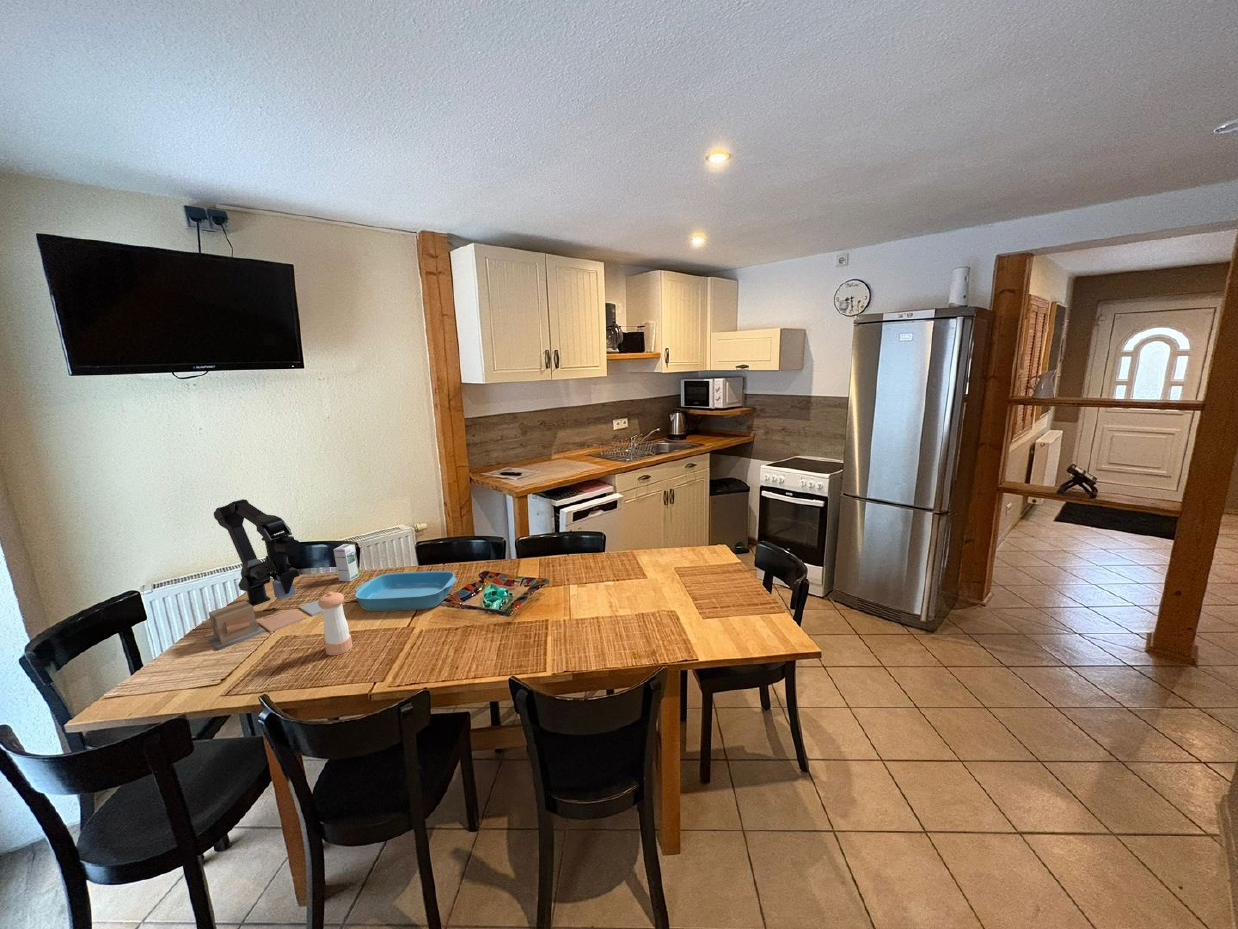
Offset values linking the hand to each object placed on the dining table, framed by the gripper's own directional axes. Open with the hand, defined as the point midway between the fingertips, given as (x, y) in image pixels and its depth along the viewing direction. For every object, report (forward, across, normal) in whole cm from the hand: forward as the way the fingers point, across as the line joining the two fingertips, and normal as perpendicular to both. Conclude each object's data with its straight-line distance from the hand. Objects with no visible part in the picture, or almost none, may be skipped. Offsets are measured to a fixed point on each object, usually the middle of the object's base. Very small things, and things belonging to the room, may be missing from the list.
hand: (284, 591), depth 184 cm
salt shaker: (+7, +47, -2) cm, 47 cm away
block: (+2, 0, 0) cm, 2 cm away
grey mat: (+7, +10, +8) cm, 14 cm away
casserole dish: (+7, +34, +29) cm, 45 cm away
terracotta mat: (+7, +10, -5) cm, 13 cm away
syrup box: (+7, -7, +26) cm, 28 cm away
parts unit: (+7, +8, -18) cm, 21 cm away
